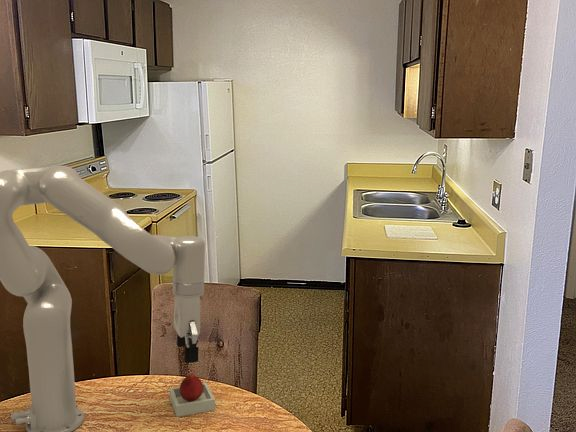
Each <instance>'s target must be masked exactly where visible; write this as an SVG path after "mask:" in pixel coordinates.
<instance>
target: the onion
mask: <svg viewBox="0 0 576 432" xmlns="http://www.w3.org/2000/svg"><path fill="white" fill-rule="evenodd" d="M202 383H203V382H202V380H201V379H200V378H199V377H198V376H196V375H195V372H193V371H191V372H189V374H188V375H187V376H186V377H184V379H183V380H181V383H180V386H179V387H180V394H181V396H182V398H183V399H184V400H186V401H188V402H194V401H196V400H197V399H198V398H199V397H200V396H201V395H202V393H203V384H202Z"/></svg>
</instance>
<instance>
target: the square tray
mask: <svg viewBox="0 0 576 432" xmlns="http://www.w3.org/2000/svg"><path fill="white" fill-rule="evenodd" d="M202 384H203V393H202V395H201V396H200V397H199V398H198V399H197V400H196V401H194V402H188V401H186V400H184V399H183V398H182V396H181V394H180V386H177V387H169V399H170V403H171V406H172V408H173V411H174V414H175V417H176V418H179V417H184V416H188V415H189V416H190V415H194V414H201V413H205V412H211V411H216V398H215V396H214V395H213V392H212V390H211V389H210V386H209V385H208V382H202Z"/></svg>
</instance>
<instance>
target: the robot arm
mask: <svg viewBox="0 0 576 432" xmlns="http://www.w3.org/2000/svg"><path fill="white" fill-rule="evenodd" d="M40 204H49V205H51V207H53V208H54V209H56V210H57V211H59V212H61V213H62V214H64V215H65V216H66V217H68V218H70V219H71V220H72V221H75V222H76V223H77V224H79V225H80V226H82V227H84V228H85V229H86V230H88V231H90V232H91V233H93V234H94V235H95V236H96V237H98V238H99V240H101V241H102V242H104V243H105V244H106V245H107V246H109V247H110V248H112V249H113V250H115V251H116V252H117V253H118V254H120V255H121V256H122V257H123V258H124V259H126V260H128V261H129V262H131V263H132V264H134V265H136V266H137V267H139V268H140V269H142V270H143V271H145V272H147V273H148V274H151V275H154V276H162V275H165V274H167V273H168V272H170V271H171V270H172V294H173V296H174V306H173V308H174V309H173V310H174V311H173V327H174V329H175V331H176V333H177V336H176V344H177V345H176V346H177V348H184V363H185V364H190V363H198V361H199V339H198V336H199V335H200V334H201V296H203V295H204V294H205V267H206V266H205V265H206V264H205V263H206V261H205V258H206V244H205V240H204V239H203V238H202V237H199V236H196V235H182V236H171V235H170V236H169V235H163V234H151V233H150V232H148V231H146V229H145V228H143V227H141V226H140V225H139V224H138V223H137V222H135V220H134V219H132V218H131V217H130V216H129V215H128V213H127V212H126V211H125V210H124V209H123V207H122V206H121V205H119V204H118V203H117V202H116V201H114V200H113V199H112V198H110V197H109V196H107V195H106V194H104V193H103V192H101V191H99V190H98V189H97V188H95V187H94V186H93V185H91V184H90V183H88V182H87V181H86V180H84V179H83V178H81V176H80V175H79V173H78V171H76V170H75V169H74V168H72V167H70V166H68V165H67V166H66V165H53V166H44V167H31V168H30V167H29V168H20V169H17V168H16V169H7V170H2V171H0V283H1V284H2V286H3V287H4V288H5V290H6V291H7V292H8V293H10V294H11V295H14V296H16V297H23V298H24V301H25V302H26V303H27V305H26V307H25V310H24V314H23V320H22V321H23V322H22V327H23V335H24V339H25V340H24V341H25V345H26V346H25V347H26V355H27V356H26V357H27V366H28V375H29V389H30V391H29V392H30V402H31V404H30V408H27V409H25V410H24V411H23V410H22V411H15V412H11V413H10V421H11V422H15V425H16V426H19V425H22V424H25V431H26V432H73V431H75V430H76V429H78V428H79V427H80V426H81V425H82V424H83V422H84V419H85V418H84V417H85V416H84V412H83V411H82V409H80V408H78V407H77V403H76V401H77V400H76V384H75V371H74V356H73V354H74V353H73V344H72V343H73V342H72V332H71V331H72V330H71V314H72V305H73V300H72V296H71V293H70V291H69V289H68V287H67V285H66V284H65V281H64V280H63V279H62V277H61V276H60V273H59V272H58V270H57V269H56V267H55V265H54V263H53V262H52V260H51V258H50V257H49V256H48V254H47V253H46V252H45V251H44V250H43V249H41V248H39V247H38V246H34V245H30V244H29V243H28V241H27V240H26V238H25V236H24V234H23V233H22V231H21V229H20V227H18V226H17V224H16V223H15V221H14V218H13V214H14V212H15V211H16V210H18V208H20V207H22V206H29V205H40Z"/></svg>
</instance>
